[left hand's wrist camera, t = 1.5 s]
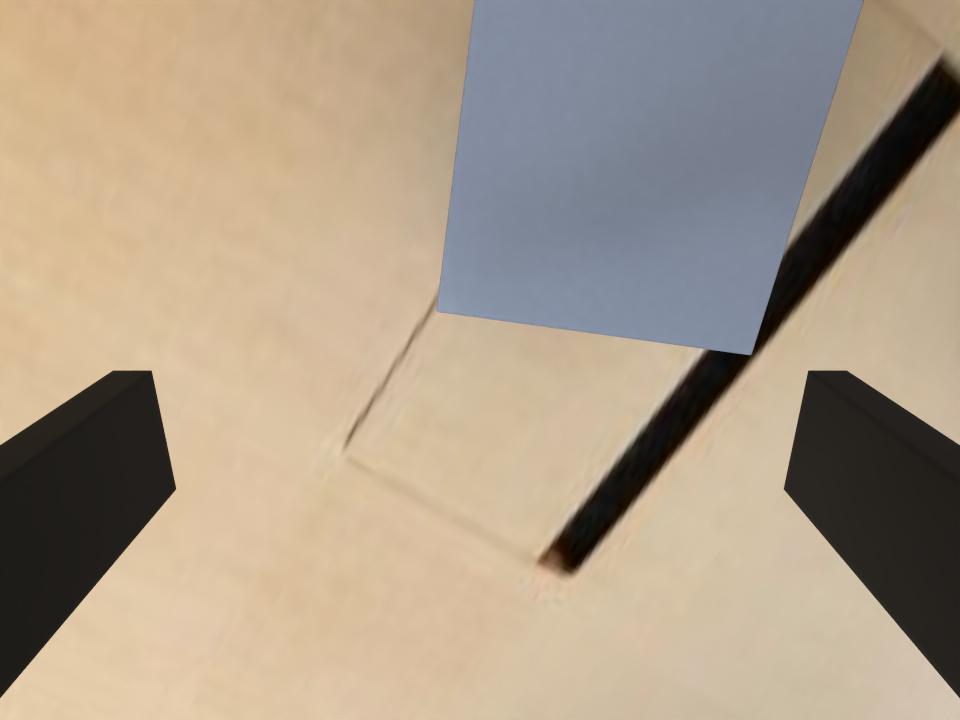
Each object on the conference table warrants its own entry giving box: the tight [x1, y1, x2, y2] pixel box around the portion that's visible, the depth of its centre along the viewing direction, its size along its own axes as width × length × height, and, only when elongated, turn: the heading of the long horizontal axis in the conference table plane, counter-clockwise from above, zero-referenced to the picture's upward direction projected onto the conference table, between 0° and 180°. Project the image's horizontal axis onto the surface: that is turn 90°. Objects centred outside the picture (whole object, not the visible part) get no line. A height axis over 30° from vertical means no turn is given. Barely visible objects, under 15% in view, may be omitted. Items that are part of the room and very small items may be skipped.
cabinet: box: [437, 0, 864, 355], centre depth 22 cm, size 19×11×10 cm, turn 172°
